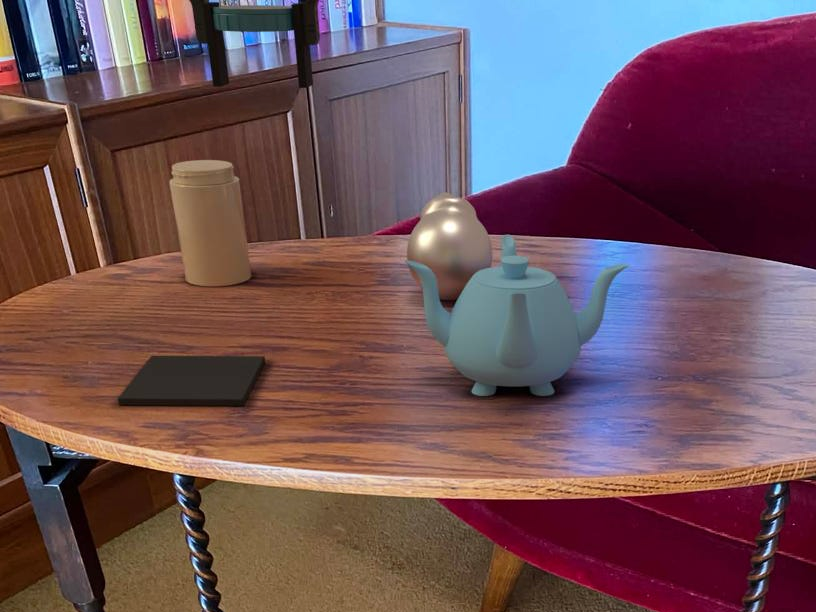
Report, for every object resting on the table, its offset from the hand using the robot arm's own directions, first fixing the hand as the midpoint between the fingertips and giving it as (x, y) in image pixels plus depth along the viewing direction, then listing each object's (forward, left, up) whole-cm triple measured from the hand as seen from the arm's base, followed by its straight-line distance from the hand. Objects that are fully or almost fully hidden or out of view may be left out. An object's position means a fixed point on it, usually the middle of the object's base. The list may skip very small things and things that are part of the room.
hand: (263, 85), depth 91 cm
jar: (-9, +6, -19) cm, 22 cm away
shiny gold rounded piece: (+17, -1, -20) cm, 26 cm away
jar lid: (0, 0, +6) cm, 6 cm away
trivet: (-4, -26, -19) cm, 32 cm away
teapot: (+23, -25, -20) cm, 39 cm away
